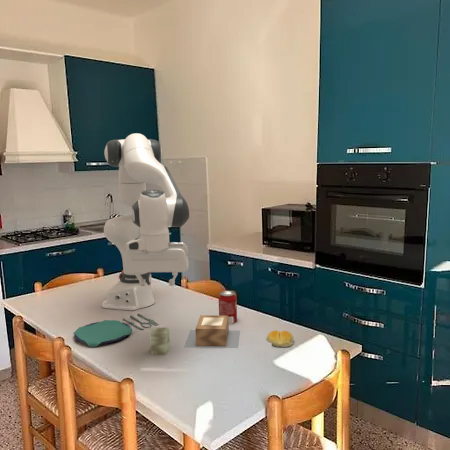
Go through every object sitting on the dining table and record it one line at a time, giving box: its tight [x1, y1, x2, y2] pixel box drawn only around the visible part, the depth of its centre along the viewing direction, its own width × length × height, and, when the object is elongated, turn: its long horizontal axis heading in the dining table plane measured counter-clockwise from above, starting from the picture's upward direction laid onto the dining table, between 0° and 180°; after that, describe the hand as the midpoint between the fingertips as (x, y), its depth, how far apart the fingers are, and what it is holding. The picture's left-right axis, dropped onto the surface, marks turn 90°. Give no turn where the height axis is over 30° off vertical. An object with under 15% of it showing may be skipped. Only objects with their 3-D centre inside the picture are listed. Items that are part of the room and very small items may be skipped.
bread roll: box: [266, 330, 294, 348], centre depth 147 cm, size 8×9×4 cm
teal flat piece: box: [73, 312, 160, 348], centre depth 160 cm, size 20×30×2 cm, turn 132°
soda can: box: [218, 290, 238, 325], centre depth 164 cm, size 7×7×12 cm
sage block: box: [149, 327, 171, 356], centre depth 140 cm, size 5×5×8 cm
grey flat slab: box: [183, 329, 241, 349], centre depth 150 cm, size 18×14×1 cm
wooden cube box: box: [194, 314, 230, 346], centre depth 149 cm, size 10×12×6 cm
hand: (157, 285), depth 137 cm, fingers open, 8 cm apart
